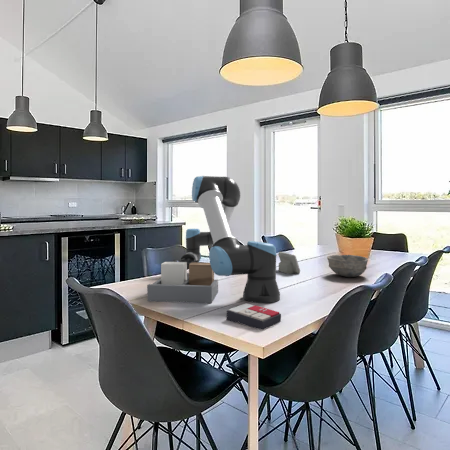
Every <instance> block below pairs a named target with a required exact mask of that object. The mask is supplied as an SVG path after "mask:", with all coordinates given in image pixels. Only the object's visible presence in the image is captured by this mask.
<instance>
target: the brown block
mask: <svg viewBox="0 0 450 450" xmlns="http://www.w3.org/2000/svg"><path fill="white" fill-rule="evenodd" d="M188 279H189V285H204V286H211V284H212V283H213V281H214V280H215V273H214V272H213V270H212V268H211V265H210V262H204V261H203V262H202V261H201V262H200V261H199V262H192V263H190V264H189V269H188Z"/></svg>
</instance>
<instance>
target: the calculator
mask: <svg viewBox="0 0 450 450" xmlns="http://www.w3.org/2000/svg"><path fill="white" fill-rule="evenodd" d="M281 320H282V313H280V311H277V310H273V309H269V308H265V307H263V306H259V305H254V304H250V303H243V304H240V305H238V306H234V307H232V308H229V309H227V310H226V321H227V322H232V323H239V324H241V325H243V326H248V327H251V328H254V329H257V330H265V329H267V328H269V327H271V326H274V325H276V324H279V323H280V322H281Z"/></svg>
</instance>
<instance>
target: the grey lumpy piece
mask: <svg viewBox="0 0 450 450" xmlns="http://www.w3.org/2000/svg"><path fill="white" fill-rule="evenodd" d="M277 253H278V254H277V255H278V258H279V261H280V262H279V263H278V272H281V273H284V274H287V275H288V274H297V275H298V274H300V273H301V268H300V265H299V263H298V260H297V256H296V255H295V254H292V253H288V252H283V251H279V252H277Z"/></svg>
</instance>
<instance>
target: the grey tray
mask: <svg viewBox="0 0 450 450" xmlns="http://www.w3.org/2000/svg"><path fill="white" fill-rule="evenodd" d="M146 290H147V291H146V292H147V294H146V295H147V296H146V297H147V302H160V303H161V302H164V303H165V302H166V303H167V302H168V303H189V304H190V303H191V304H192V303H193V304H195V303H198V304H212V303H213V302H214V300H215V298H216V297H217V295H218V293H219V280H218V279H214V281H213V283H212V284H211V286H204V285H189V278H187V280H186V281H185V282H184V283H182V284H181V285H166V284H161V278H160V277H159V279H157V280H156V281H155V282H153V283H152V284H151V283H149V284H147V289H146Z"/></svg>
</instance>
